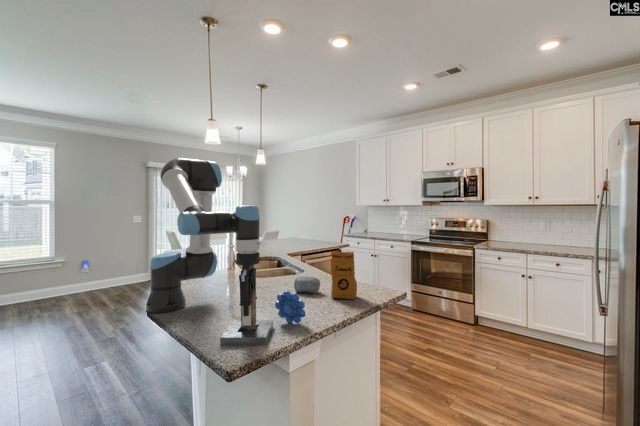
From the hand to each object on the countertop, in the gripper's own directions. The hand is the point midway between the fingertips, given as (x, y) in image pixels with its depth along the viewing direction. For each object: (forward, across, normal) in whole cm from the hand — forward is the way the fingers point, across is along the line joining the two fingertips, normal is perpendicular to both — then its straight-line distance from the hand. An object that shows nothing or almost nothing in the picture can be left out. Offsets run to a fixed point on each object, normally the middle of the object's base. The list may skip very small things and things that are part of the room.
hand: (248, 322), depth 96 cm
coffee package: (+5, +42, -35) cm, 55 cm away
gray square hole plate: (+5, 0, 0) cm, 5 cm away
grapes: (+5, +10, -12) cm, 17 cm away
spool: (+5, +51, -17) cm, 54 cm away
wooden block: (+1, 0, 0) cm, 1 cm away
